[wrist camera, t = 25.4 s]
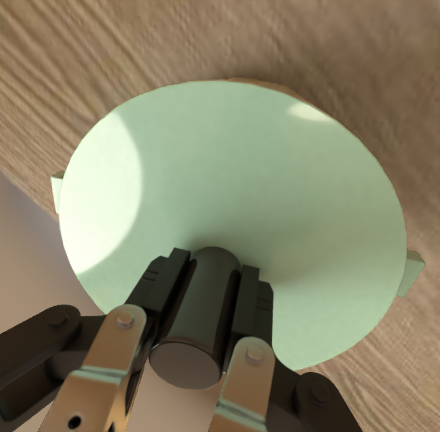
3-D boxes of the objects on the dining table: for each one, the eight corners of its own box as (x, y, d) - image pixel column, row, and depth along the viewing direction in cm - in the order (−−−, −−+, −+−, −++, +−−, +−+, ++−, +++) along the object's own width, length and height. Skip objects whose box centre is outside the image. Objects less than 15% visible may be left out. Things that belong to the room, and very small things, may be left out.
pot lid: (54, 43, 11) (-156, 30, 6) (480, 123, 10) (719, 202, 4) (86, 318, 19) (8, 421, 14) (325, 384, 18) (344, 527, 12)
